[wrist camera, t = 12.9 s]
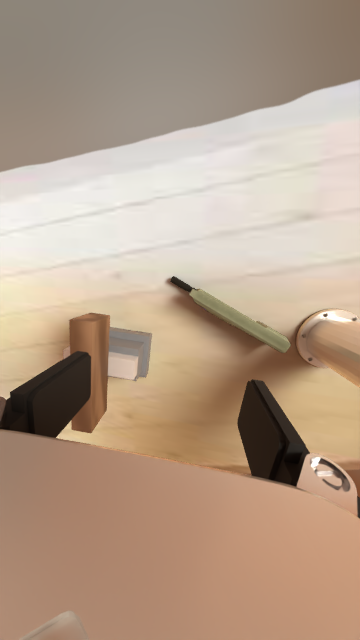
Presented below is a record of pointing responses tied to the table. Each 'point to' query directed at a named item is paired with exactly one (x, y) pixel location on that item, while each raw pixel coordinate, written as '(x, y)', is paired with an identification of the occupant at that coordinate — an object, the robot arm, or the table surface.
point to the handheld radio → (236, 318)
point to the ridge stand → (126, 353)
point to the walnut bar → (92, 365)
